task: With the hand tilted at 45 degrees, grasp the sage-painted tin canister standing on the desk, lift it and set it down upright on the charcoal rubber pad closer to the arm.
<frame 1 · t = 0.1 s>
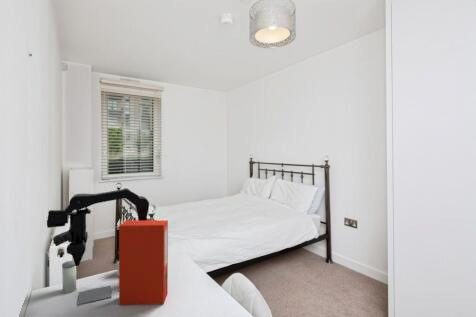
hand: (78, 261, 108), 15 cm above the table, tool pointing down, fingers open, 9 cm apart
tin canister: (69, 290, 112), on the table
file binder: (144, 299, 106), on the table
charcoal pad: (95, 295, 109), on the table
medicine bottle: (127, 273, 128), on the table
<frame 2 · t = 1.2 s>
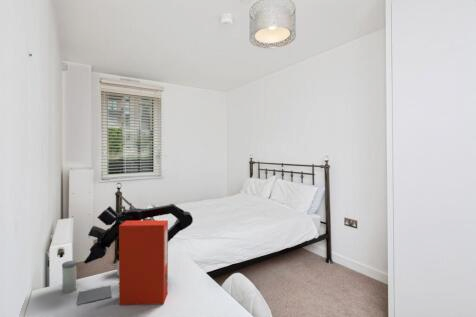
hand: (87, 258, 114), 13 cm above the table, tool tilted 45°, fingers open, 9 cm apart
nothing on the table moved.
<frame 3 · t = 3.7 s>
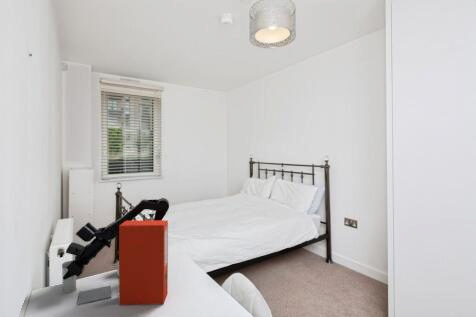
hand: (65, 275, 112), 7 cm above the table, tool tilted 45°, fingers closed on tin canister, 5 cm apart
tin canister: (69, 290, 112), on the table, touching gripper
everything else where it was.
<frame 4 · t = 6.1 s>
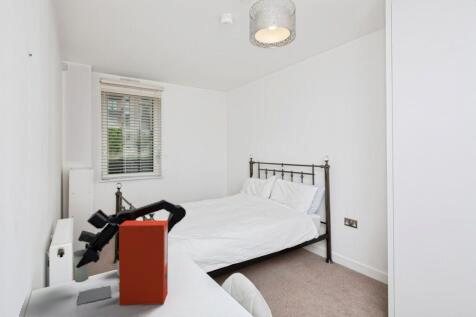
hand: (77, 264, 109), 13 cm above the table, tool tilted 45°, fingers closed on tin canister, 5 cm apart
tin canister: (81, 279, 110), point 6 cm above the table, touching gripper
everything else where it was.
when the fingers open (8 cm above the table, at t = 8.5 s): tin canister drops 1 cm, resting on charcoal pad.
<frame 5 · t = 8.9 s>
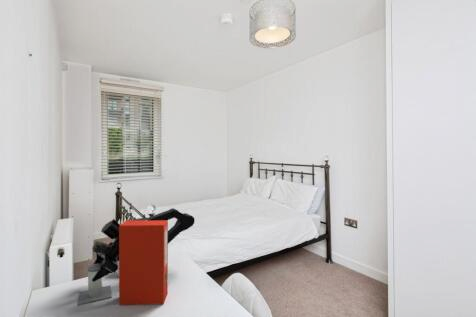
hand: (91, 276, 107), 9 cm above the table, tool tilted 45°, fingers open, 9 cm apart
tin canister: (95, 294, 109), point 1 cm above the table, touching charcoal pad
everything else where it was.
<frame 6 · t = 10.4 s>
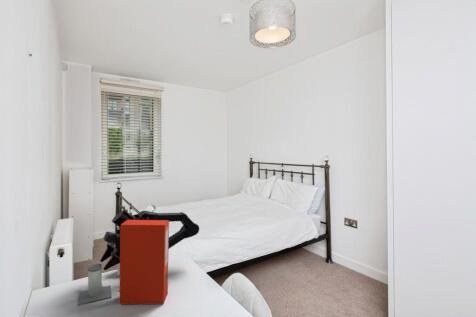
hand: (102, 265, 110), 12 cm above the table, tool tilted 45°, fingers open, 9 cm apart
file binder: (144, 299, 106), on the table, touching gripper
everything else where it was.
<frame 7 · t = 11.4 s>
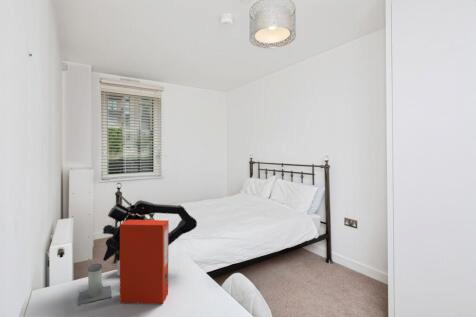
hand: (107, 258, 112), 14 cm above the table, tool tilted 35°, fingers open, 9 cm apart
file binder: (144, 298, 107), on the table
everything else where it was.
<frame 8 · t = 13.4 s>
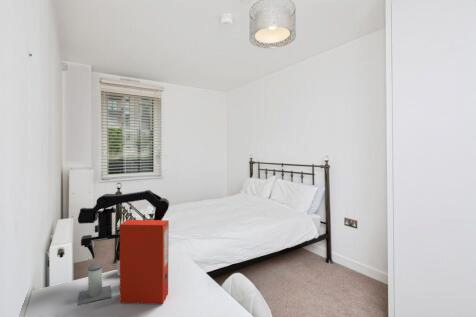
hand: (105, 256, 117), 13 cm above the table, tool pointing down, fingers open, 9 cm apart
nothing on the table moved.
at the end: tin canister inside the target area on the charcoal pad (0.0 cm from its centre), point 0.5 cm above the charcoal pad's base; tin canister tilted 1°; tin canister touching charcoal pad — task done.
